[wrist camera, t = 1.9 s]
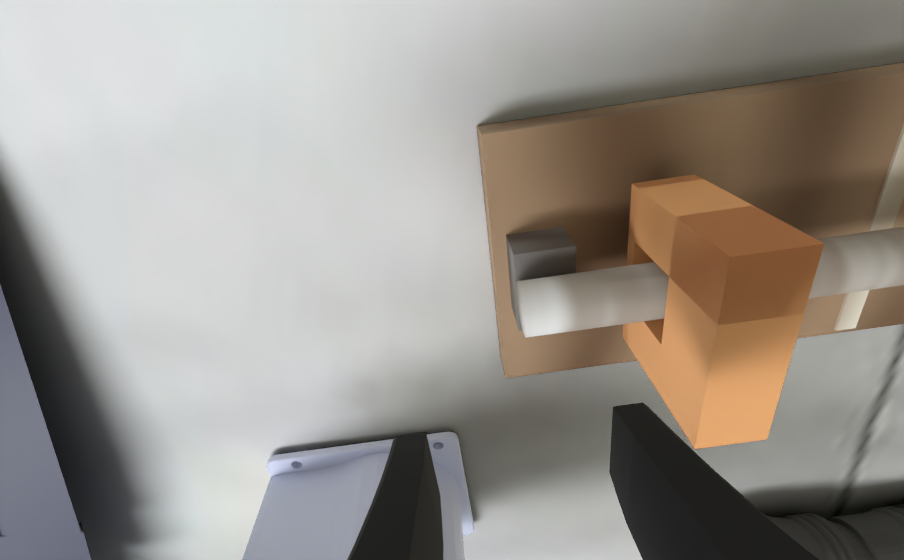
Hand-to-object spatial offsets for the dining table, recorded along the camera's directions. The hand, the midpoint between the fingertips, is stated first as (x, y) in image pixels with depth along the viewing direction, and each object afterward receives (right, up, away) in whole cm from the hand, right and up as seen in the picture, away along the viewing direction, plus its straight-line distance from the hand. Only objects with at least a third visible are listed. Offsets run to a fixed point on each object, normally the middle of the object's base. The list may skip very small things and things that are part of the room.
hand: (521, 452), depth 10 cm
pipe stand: (+10, +6, +8) cm, 14 cm away
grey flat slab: (-30, -1, +10) cm, 32 cm away
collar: (+6, +4, +6) cm, 9 cm away
